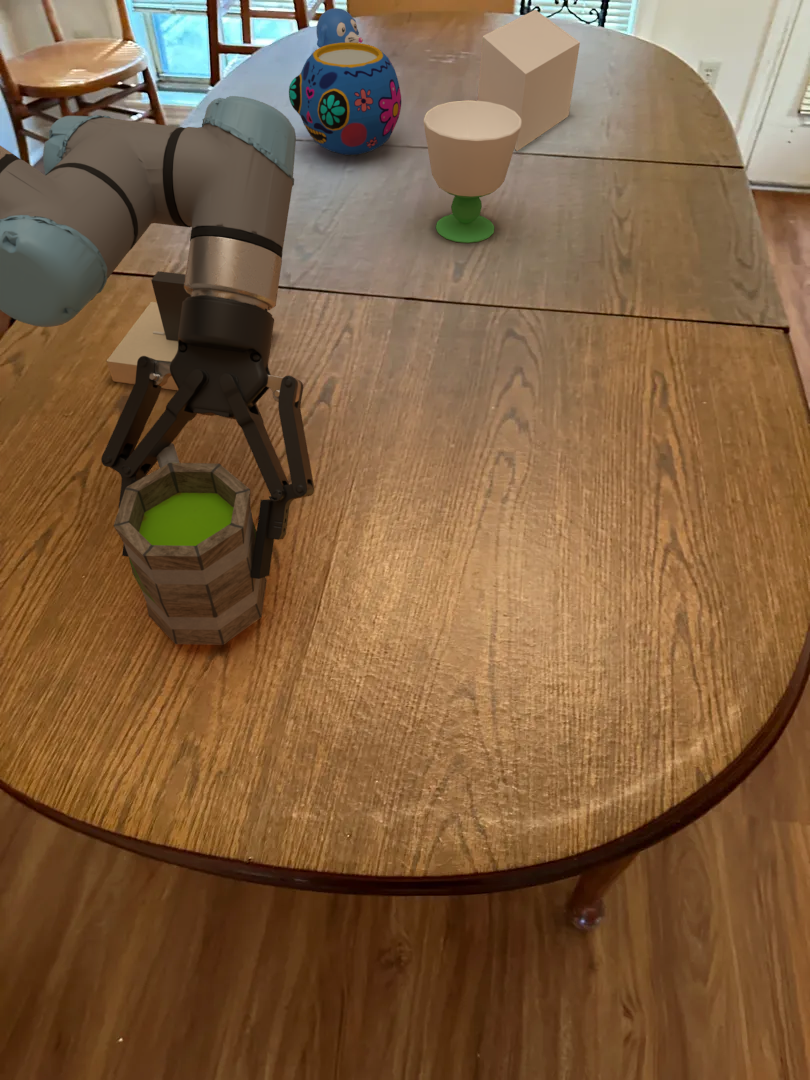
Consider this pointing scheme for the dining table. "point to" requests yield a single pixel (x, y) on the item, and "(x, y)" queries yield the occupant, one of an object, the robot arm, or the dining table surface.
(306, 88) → the ceramic pot
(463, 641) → the dining table surface
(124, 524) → the mug
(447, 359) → the dining table surface
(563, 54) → the block
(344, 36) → the blue mole toy
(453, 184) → the cup
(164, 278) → the dark brown upright block
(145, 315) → the tan rectangular slab
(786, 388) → the dining table surface
